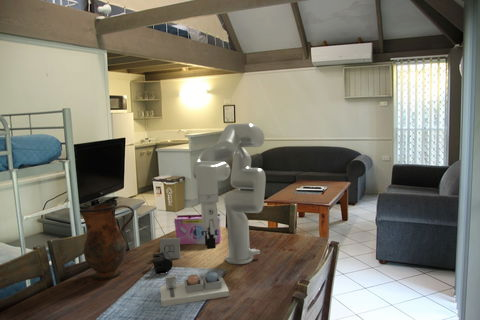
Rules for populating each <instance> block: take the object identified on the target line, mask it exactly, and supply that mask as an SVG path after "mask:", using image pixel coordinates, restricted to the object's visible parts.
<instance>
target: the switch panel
mask: <svg viewBox="0 0 480 320" xmlns="http://www.w3.org/2000/svg"><path fill="white" fill-rule="evenodd" d="M217 280H218V281H217V282H210V283H208V282H207V276H203V277H202V278H201V277H199V284H196V285H188V278H187V279H184V280H183V281H184V282H182V283H176V287H175V288H168V289H166V285H160V286H159V290H160V292H159V293H160V303H161V307H167V306H173V305H180V304H187V303H192V302H193V303H194V302H198V301H205V300H211V299H217V298H218V299H219V298H220V299H221V298H226V297H230V291H229V289H228V286H227V284H226V281H225V280H224V278H223V277H220V276H219V274H217Z"/></svg>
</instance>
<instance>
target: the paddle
mask: <svg viewBox="0 0 480 320" xmlns="http://www.w3.org/2000/svg"><path fill="white" fill-rule="evenodd" d="M176 284H177V277H176V274H173V275H165V286H166V289H168V288H175V287H176Z"/></svg>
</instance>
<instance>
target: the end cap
mask: <svg viewBox="0 0 480 320" xmlns="http://www.w3.org/2000/svg"><path fill="white" fill-rule="evenodd" d="M152 258H153V260H152V261H153V263H152V264H153V270H154V269H155V270H154V273H155V275H156V274H159V275H161V274H160V273H165V274H167V273H169V272H170V271H171V269H173V261H172V259H171V258H170V256H169V254H168V253H167V252H166V251H162V253H160V252H159V253H153V254H152ZM166 272H167V273H166Z"/></svg>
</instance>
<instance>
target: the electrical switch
mask: <svg viewBox="0 0 480 320" xmlns="http://www.w3.org/2000/svg"><path fill="white" fill-rule="evenodd" d="M162 251H166V252H167V253H168V254H169V256H170V258H171V260H172V259H173V260H174V259H180V258H181V244H180V239H179V238H177V237H169V238H168V237H167V238H160V239H159V253H162Z"/></svg>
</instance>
